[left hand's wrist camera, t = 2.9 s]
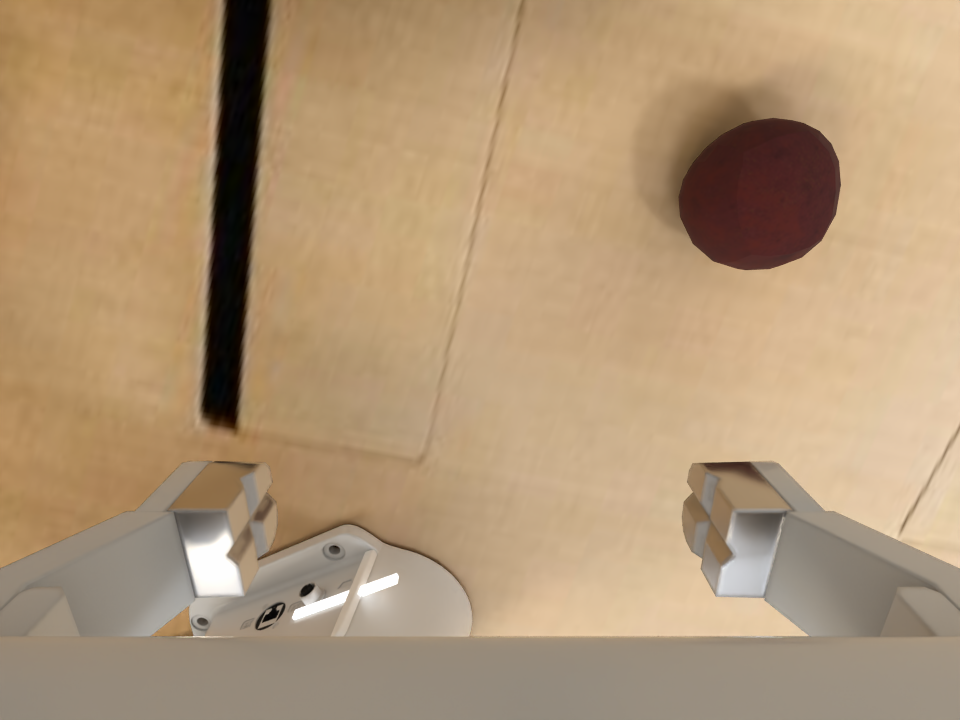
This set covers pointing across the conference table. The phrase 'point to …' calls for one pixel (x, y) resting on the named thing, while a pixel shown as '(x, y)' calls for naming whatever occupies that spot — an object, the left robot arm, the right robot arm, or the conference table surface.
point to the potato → (761, 194)
